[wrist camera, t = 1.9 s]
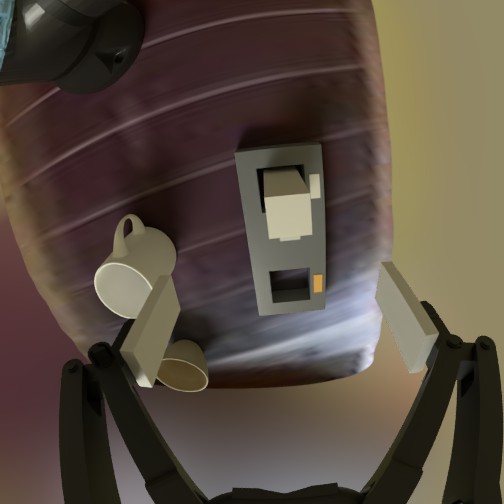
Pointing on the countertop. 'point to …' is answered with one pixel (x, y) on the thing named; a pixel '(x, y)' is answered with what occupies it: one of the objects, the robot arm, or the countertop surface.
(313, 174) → the panel
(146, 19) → the countertop surface
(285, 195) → the plug
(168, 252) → the mug
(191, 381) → the flower pot
